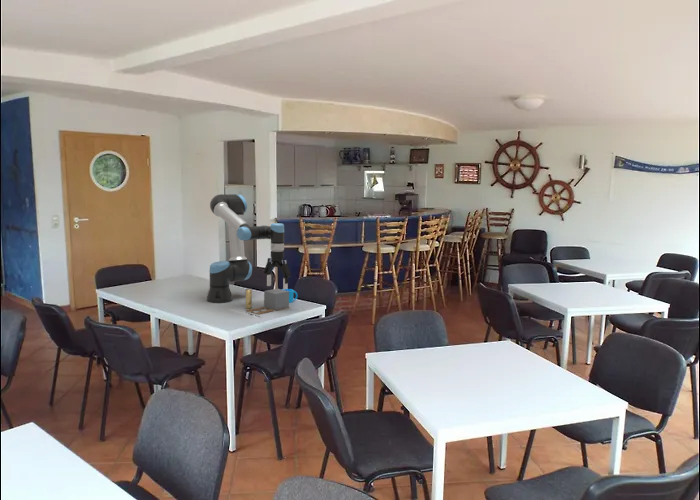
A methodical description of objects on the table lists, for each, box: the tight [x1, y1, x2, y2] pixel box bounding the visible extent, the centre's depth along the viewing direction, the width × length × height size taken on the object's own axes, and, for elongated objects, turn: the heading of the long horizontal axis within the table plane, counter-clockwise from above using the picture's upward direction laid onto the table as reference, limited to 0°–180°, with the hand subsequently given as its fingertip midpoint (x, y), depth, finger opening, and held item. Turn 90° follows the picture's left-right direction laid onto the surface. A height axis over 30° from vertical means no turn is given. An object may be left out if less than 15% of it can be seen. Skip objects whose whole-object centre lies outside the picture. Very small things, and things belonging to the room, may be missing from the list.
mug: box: [281, 288, 298, 304], centre depth 318 cm, size 12×8×8 cm
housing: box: [263, 288, 290, 311], centre depth 301 cm, size 10×10×10 cm
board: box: [261, 306, 292, 312], centre depth 301 cm, size 12×12×4 cm
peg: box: [245, 288, 253, 310], centre depth 296 cm, size 3×3×12 cm
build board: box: [245, 306, 275, 318], centre depth 292 cm, size 11×11×2 cm
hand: (277, 287), depth 300 cm, fingers open, 13 cm apart
